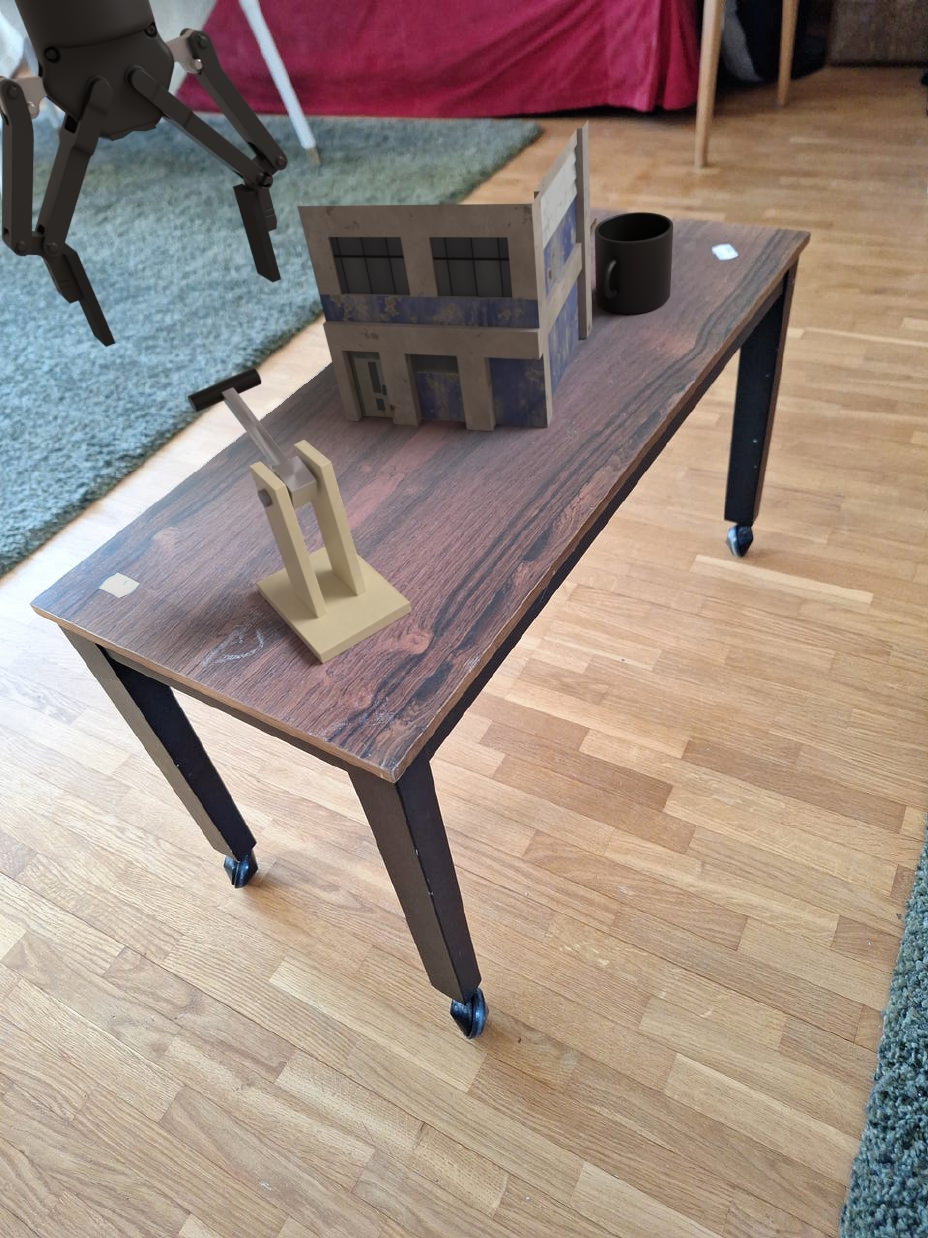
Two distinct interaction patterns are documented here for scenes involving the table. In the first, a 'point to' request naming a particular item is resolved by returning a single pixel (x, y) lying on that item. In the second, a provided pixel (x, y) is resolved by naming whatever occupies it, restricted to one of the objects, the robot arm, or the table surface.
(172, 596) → the table surface
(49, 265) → the robot arm
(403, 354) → the building
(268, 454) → the lever
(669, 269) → the mug
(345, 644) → the bracket
